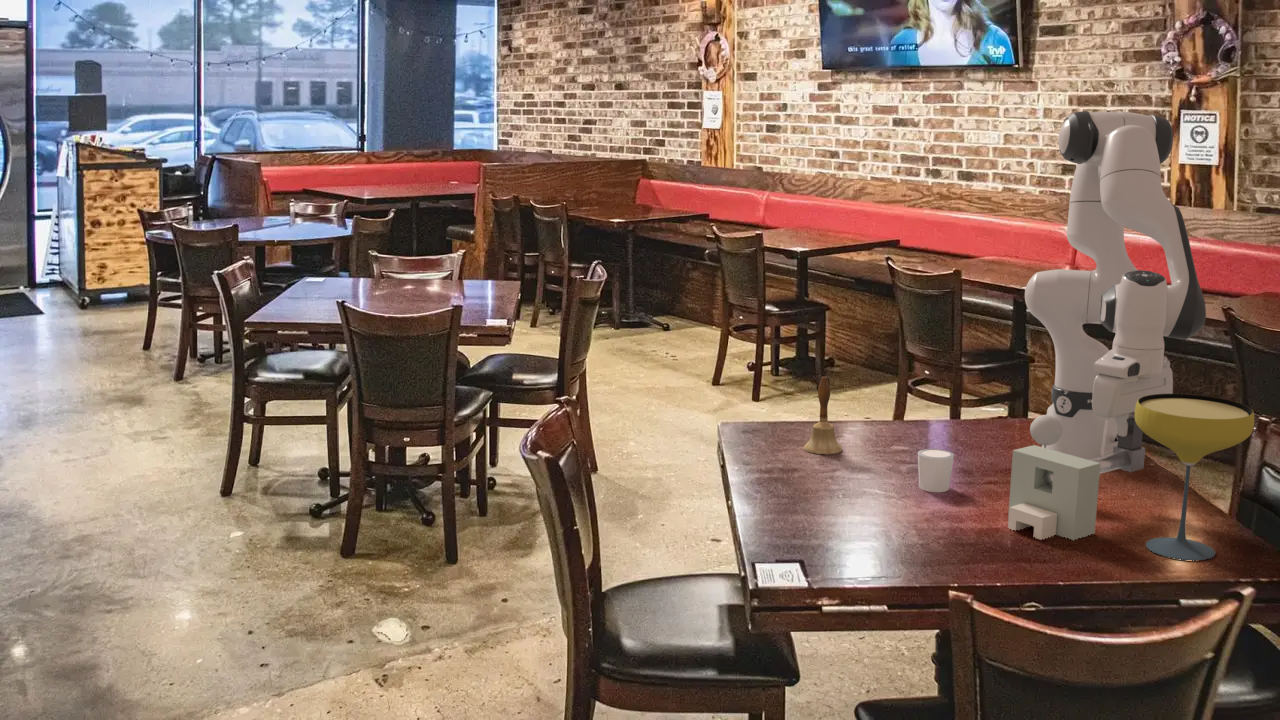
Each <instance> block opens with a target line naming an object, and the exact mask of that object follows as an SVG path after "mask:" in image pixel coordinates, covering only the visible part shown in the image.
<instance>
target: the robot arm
mask: <svg viewBox="0 0 1280 720" xmlns="http://www.w3.org/2000/svg"><path fill="white" fill-rule="evenodd" d="M1173 144H1174V131H1173V127H1172V124H1171V123H1170V121H1169V120H1168V119H1166V118H1164V117H1162V116H1160V115H1159V116H1158V115H1155V114H1150V115H1146V114H1144V113H1143V114H1141V113H1136V112H1129V111H1122V110H1121V111H1095V112H1094V111H1093V112H1092V111H1091V112H1089V110H1082V111H1081V110H1080V111H1076V112H1072V113H1070V114H1068V115H1067V117H1065V118H1064V120H1063V122H1062V125H1061V127H1060V129H1059V132H1058V149H1059V153H1060V155H1061V156H1062V157H1063V159H1064V160H1065V161H1067V162H1070V163H1075V164H1076V167H1075V171H1074V174H1073V178H1072V182H1071V183H1072V184H1071V188H1070V196H1069V206H1068V215H1067V227H1066V238H1067V241H1068V243H1069V245H1070V246H1071V247H1072V248H1074V249H1075V250H1077V251H1078V252H1080V253H1082V254H1083V255H1086V256H1087V257H1090V258H1091V259H1092V260H1093V262H1095V266H1096V268H1095V269H1093V270H1083V269H1082V270H1080V269H1079V270H1078V269H1061V268H1060V269H1059V268H1058V269H1057V268H1056V269H1049V270H1041V271H1037V272H1035V273H1034V274H1033V275H1032V276H1031V277H1030V279H1029V280H1028V282H1027V283H1026V286H1025V290H1024V301H1025V305H1026V307H1027V308H1026V309H1028V311H1029V312H1030V314H1031V315H1032V316H1033V317H1034V318H1036V319H1037V320H1038V321H1039V322H1040V323H1041V324H1042V325H1043V326H1044V327H1045V329H1046V330H1047V331H1048V333H1049V335H1050V337H1051V339H1052V342H1053V346H1054V352H1055V373H1054V374H1055V375H1054V384H1053V385H1052V389H1051V391H1050V394H1051V399H1050V400H1051V402H1052V404H1051V405H1049V406H1048V408H1047V410H1046V415H1051V416H1053V417H1055V418H1057V419H1058V420H1059V422H1060V423H1061V425H1062V428H1063V433H1062V436H1061V438H1060V439H1059V440H1058V441H1057V442H1056V443H1054V444H1052V445H1046V448H1047V449H1050V450H1054V451H1058V452H1061V453H1065V454H1069V455H1072V456H1076V457H1080V458H1083V459H1087V460H1089V459H1093V458H1096V457H1100V456H1104V455H1108V454H1112V453H1113V446H1117V445H1118V436H1122V437H1125V436H1128V435H1130V428H1131V427H1129V426H1128V424H1127V419H1128V418H1129V413H1132V414H1134V413H1135V407H1136V403H1137V401H1138V399H1140V398H1141V397H1144V396H1148V395H1154V394H1174V393H1173V390H1174V385H1173V384H1174V380H1173V379H1174V378H1173V370H1172V368H1171V361H1170V360H1169V358H1168V357H1167V356H1166V355H1165V354H1164V353H1165V340H1164V337H1167V338H1171V339H1177V340H1178V339H1180V340H1187V339H1190V338H1191V337H1193V336H1195V335H1196V334H1197V333H1198V332H1200V331H1201V330H1202V329H1203V328H1204V326H1205V323H1206V319H1207V318H1206V317H1207V305H1206V302H1205V298H1204V294H1203V291H1202V287H1201V286H1200V283H1199V279H1198V276H1197V275H1198V274H1197V271H1196V266H1195V263H1194V258H1193V253H1192V248H1191V243H1190V239H1189V238H1190V237H1189V235H1188V231H1187V227H1186V223H1185V220H1184V216H1183V214H1182V212H1181V210H1180V208H1179V206H1177V205H1175V204H1173V203H1171V201H1170V200H1169V199H1168V196H1166V193H1165V192H1164V189H1163V185H1162V173H1161V164H1163V163H1164V162H1165V161H1166V160H1168V159H1169V156H1170V155H1171V151H1172V148H1173ZM1125 228H1126V229H1129V230H1132V231H1135V232H1137V233H1140V234H1143V235H1145V236H1147V237H1149V238H1151V239H1153V240H1154V241H1156V242H1157V243H1158V244H1159V245H1160V246H1161V247H1162V249H1163V251H1164V255H1165V260H1166V263H1167V269H1168V273H1169V277H1170V281H1171V284H1168V282H1167V279H1166V277H1165V276H1164V275H1162V274H1160V273H1158V272H1154V271H1152V270H1151V271H1150V270H1141V269H1139V270H1138V269H1137V267H1135V265H1134V263H1133V262H1132V261H1131V259H1130V257H1129V255H1128V252H1127V249H1126V244H1125V243H1126V242H1125ZM1084 324H1097V325H1102V326H1103V327H1104V328H1105V329H1106V330H1107V331H1108V332H1110V333H1114V334H1115V336H1114V338H1113V341H1112V347H1111V348H1112V349H1109V348H1108V347H1107V346H1106V345H1104V343H1102V342H1100V341H1099V340H1097V339H1095V338H1093V337H1091V336H1090V335H1088V334H1087V333H1086V331H1084V327H1083V325H1084ZM1041 447H1043V448H1044V445H1041Z"/></svg>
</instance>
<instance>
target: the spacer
mask: <svg viewBox="0 0 1280 720" xmlns="http://www.w3.org/2000/svg"><path fill="white" fill-rule="evenodd" d="M1008 512H1009V519H1008V521H1007V523H1008V524H1007V529H1008V528H1009V529H1008V530H1010V529H1011V530H1010V531H1013V530H1015V532H1017V531H1016V530H1018V531H1021V530H1024V528H1025V529H1027V528H1026V527H1028V528H1030V527H1031V526H1034V527H1033V538H1034V537H1035V539H1038V540H1040V541H1042V539H1043V540H1045V538H1046V539H1049V538H1052V537H1054V535H1056V524H1057V513H1054V512H1051V511H1048V510H1044V509H1041V508H1038V507H1035V506H1032V505H1029V504H1026V503H1022V504H1019V505H1015V506H1012V507H1009V506H1008ZM1030 525H1031V526H1030ZM1020 529H1021V530H1020ZM1051 536H1052V537H1051ZM1056 536H1057V535H1056ZM1048 537H1049V538H1048Z"/></svg>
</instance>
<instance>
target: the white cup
mask: <svg viewBox="0 0 1280 720" xmlns="http://www.w3.org/2000/svg"><path fill="white" fill-rule="evenodd" d="M954 459H955V454H954V453H953V452H951V451H950V450H949V451H948V450H944V449H940V448H939V449H937V448H925V449H922V450H921V449H920V450H918V451H917V465H918V466H917V469H918V488H919V489H920V490H922V491H925V492H929V493H946V492H947V491H949V490H950V483H951V477H952V471H953V464H954Z"/></svg>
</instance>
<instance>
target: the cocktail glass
mask: <svg viewBox="0 0 1280 720" xmlns="http://www.w3.org/2000/svg"><path fill="white" fill-rule="evenodd" d="M1134 414H1135V421H1136V424H1137V426H1138V427H1139V428H1140V429H1141V430H1142V431H1143V434H1145V435H1146V436H1148V437H1149V438H1151V439H1152V440H1154V441H1156V442H1157V443H1160V445H1162V446H1164V447H1166V448H1168V449H1170V450H1171V451H1172V452H1173V453H1175V454H1176V456H1177V457H1178V459H1179V461H1180V462H1181V463H1182V464H1183V465H1185V466H1186V467H1185V479H1184V487H1183V488H1184V489H1183V497H1182V506H1181V516H1180V523H1179V527H1178V532H1177V535H1176V537H1173V536H1172V537H1170V536H1166V537H1164V536H1163V537H1155V538H1154V537H1153V538H1152V539H1149V540H1147V542H1145V546H1146V549H1147V550H1148V549H1149V551H1150V552H1151V551H1152V552H1151V553H1153V554H1155V553H1156V554H1155V555H1157V554H1158V555H1157V556H1160V555H1162V556H1165V557H1164V558H1166V557H1170V558H1175V559H1181V560H1192V561H1191V562H1197V561H1196V560H1205V559H1209V560H1211V559H1213V558H1214V557H1215V556H1216V551H1215V550H1214V549H1213V548H1212V547H1210V546H1209V545H1207V544H1205V543H1202V542H1200V541H1197V540H1192V539H1187V537H1186V521H1187V519H1186V518H1187V507H1188V496H1189V484H1190V475H1191V467H1193V466H1195V465H1197V463H1198V462H1200V461H1201V459H1203V458H1204V457H1206V456H1208V455H1210V454H1212V453H1217V452H1219V451H1222V450H1227V449H1229V448H1232V447H1234V446H1237V445H1239V444H1240V443H1242V442H1244V441H1245V440H1247V439H1248V438H1249V437H1250V436H1251V435H1252V433H1253V431H1254V427H1255V413H1254V410H1253V409H1252V408H1251V407H1250V406H1247V405H1246V404H1242V403H1240V402H1237V401H1234V400H1229V399H1225V398H1221V397H1215V396H1210V395H1209V396H1208V395H1201V394H1189V393H1188V394H1187V393H1173V394H1154V395H1148V396H1144V397H1141V398H1140V399H1138V401H1137V403H1136V407H1135V412H1134ZM1214 555H1215V556H1214ZM1162 556H1161V557H1162ZM1212 557H1213V558H1212ZM1170 558H1169V559H1170ZM1210 558H1211V559H1210ZM1175 559H1174V560H1175ZM1181 560H1180V561H1181ZM1193 560H1194V561H1193ZM1205 561H1206V560H1205Z"/></svg>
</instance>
